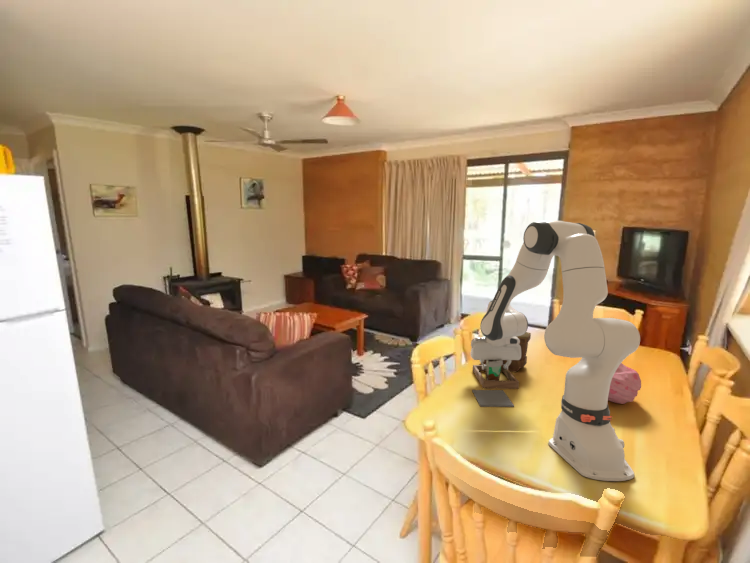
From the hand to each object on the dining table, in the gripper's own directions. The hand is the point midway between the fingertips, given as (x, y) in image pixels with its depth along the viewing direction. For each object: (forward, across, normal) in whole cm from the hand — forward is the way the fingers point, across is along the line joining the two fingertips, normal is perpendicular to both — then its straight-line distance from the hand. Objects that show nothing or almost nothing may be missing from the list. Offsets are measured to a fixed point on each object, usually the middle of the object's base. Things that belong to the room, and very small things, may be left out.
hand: (494, 369), depth 152 cm
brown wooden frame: (+5, 0, 0) cm, 5 cm away
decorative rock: (+5, +39, -18) cm, 43 cm away
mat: (+5, -6, -17) cm, 19 cm away
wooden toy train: (+5, +9, +15) cm, 18 cm away
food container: (+5, 0, 0) cm, 5 cm away
